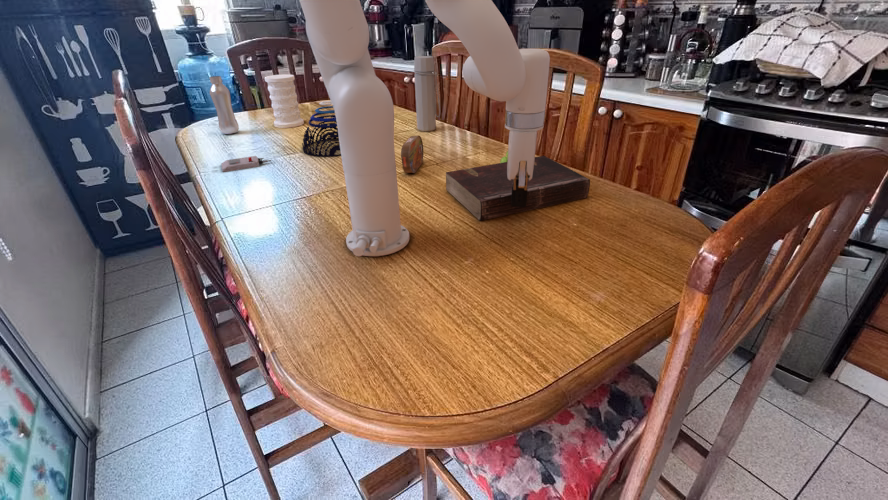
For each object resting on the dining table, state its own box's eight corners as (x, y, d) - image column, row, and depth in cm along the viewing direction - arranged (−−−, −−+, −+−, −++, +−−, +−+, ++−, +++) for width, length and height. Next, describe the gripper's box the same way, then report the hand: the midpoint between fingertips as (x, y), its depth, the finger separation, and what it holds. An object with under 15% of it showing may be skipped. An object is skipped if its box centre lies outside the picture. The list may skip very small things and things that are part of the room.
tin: (411, 177, 114) (409, 147, 110) (400, 177, 115) (398, 146, 110) (424, 159, 127) (423, 132, 122) (414, 159, 127) (413, 131, 123)
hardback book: (480, 221, 90) (481, 200, 88) (446, 191, 105) (445, 172, 103) (587, 197, 100) (591, 178, 97) (542, 173, 115) (544, 155, 112)
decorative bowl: (370, 151, 135) (365, 105, 127) (306, 160, 129) (297, 112, 121) (357, 136, 151) (352, 94, 143) (301, 143, 145) (292, 100, 137)
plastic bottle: (221, 132, 159) (204, 76, 149) (240, 130, 162) (225, 74, 151) (221, 136, 154) (204, 78, 144) (240, 134, 156) (225, 77, 146)
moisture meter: (215, 167, 125) (212, 157, 124) (270, 158, 131) (267, 149, 130) (216, 174, 120) (213, 164, 119) (272, 165, 126) (270, 155, 125)
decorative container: (297, 119, 175) (288, 73, 166) (308, 124, 167) (299, 76, 158) (269, 124, 169) (258, 76, 160) (280, 129, 161) (269, 79, 152)
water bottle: (413, 131, 154) (409, 58, 142) (421, 126, 161) (417, 55, 148) (437, 133, 152) (435, 58, 139) (443, 127, 159) (442, 55, 146)
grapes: (522, 174, 114) (524, 148, 111) (499, 174, 115) (501, 148, 111) (520, 163, 122) (522, 138, 119) (499, 162, 123) (500, 138, 119)
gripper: (504, 110, 88) (501, 191, 97) (505, 129, 75) (501, 220, 84) (541, 110, 87) (533, 192, 96) (547, 129, 74) (538, 221, 84)
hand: (518, 205), depth 90 cm, fingers closed
